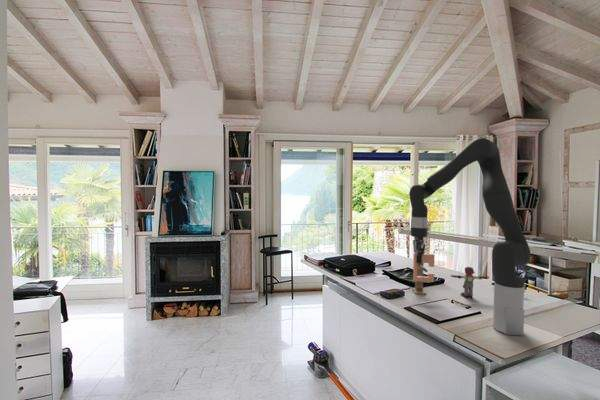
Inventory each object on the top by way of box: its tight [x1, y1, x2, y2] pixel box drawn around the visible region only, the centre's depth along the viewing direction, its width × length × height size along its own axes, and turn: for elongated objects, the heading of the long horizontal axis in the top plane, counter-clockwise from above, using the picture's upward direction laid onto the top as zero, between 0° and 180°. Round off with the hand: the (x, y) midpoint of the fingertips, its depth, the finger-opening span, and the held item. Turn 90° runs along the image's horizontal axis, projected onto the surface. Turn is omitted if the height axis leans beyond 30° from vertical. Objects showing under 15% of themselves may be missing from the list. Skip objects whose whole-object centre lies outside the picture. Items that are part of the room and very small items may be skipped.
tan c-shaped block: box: [412, 252, 435, 283], centre depth 148 cm, size 2×9×13 cm, turn 83°
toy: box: [450, 266, 490, 299], centre depth 151 cm, size 18×6×15 cm, turn 84°
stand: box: [411, 263, 429, 296], centre depth 153 cm, size 16×5×16 cm, turn 173°
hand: (418, 262), depth 148 cm, fingers closed on tan c-shaped block, 2 cm apart
